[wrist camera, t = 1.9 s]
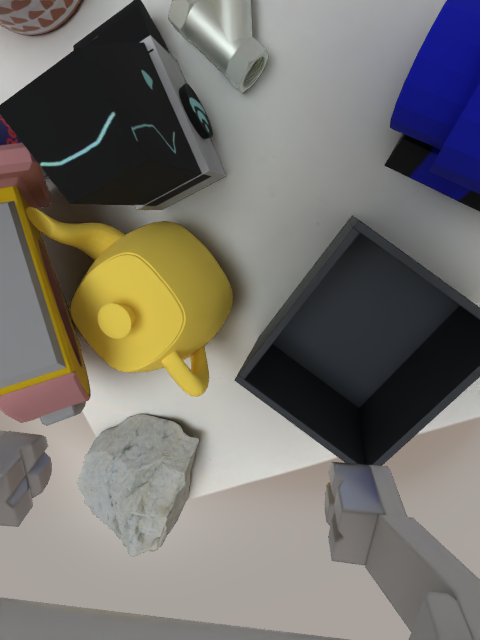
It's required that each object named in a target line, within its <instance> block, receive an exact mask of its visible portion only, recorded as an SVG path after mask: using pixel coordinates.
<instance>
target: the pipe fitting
mask: <svg viewBox="0 0 480 640" xmlns="http://www.w3.org/2000/svg"><path fill="white" fill-rule="evenodd" d="M168 19H169V21H170V22H171V24H172V25H173V27H174V28H175V29H176V30H177V31H178V32H179V33H180V34H181V35H182V36H183V37H184V38H185V39H186V40H187V41H188V40H190V41H191V42H192V43H193V44H194V45H195V46H196V47H197V48H198V49H199V50H200V51H201V52H202V53H203V54H204V55H205V56H206V57H207V58H208V59H209V60H210V61H212V62H213V63H214V64H215V65H216V66H217V67H218V68H219V69H220V70H221V71H222V72H223V73H224V74H225V75H226V76H227V78H228V80H229V81H230V82H231V83H232V84H233V85H234V86H235V87H236V88H237V89H238V90H239V91H240V92H241V93H242V92H244V91H246V90H247V89H249V88H250V87H251V86H252V85H253V84H254V83H255V82H256V80H257V79H258V78H259V76H260V75H261V73H262V71H263V70H264V68H265V65H266V63H267V60H268V54H267V51H266V49H265V48H264V47H263V46H262V45H261V44H260V43H259V42H258V41H257V40H256V39H255V38H254V37H252V16H251V0H173V1H172V4H171V7H170V11H169V18H168Z"/></svg>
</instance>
